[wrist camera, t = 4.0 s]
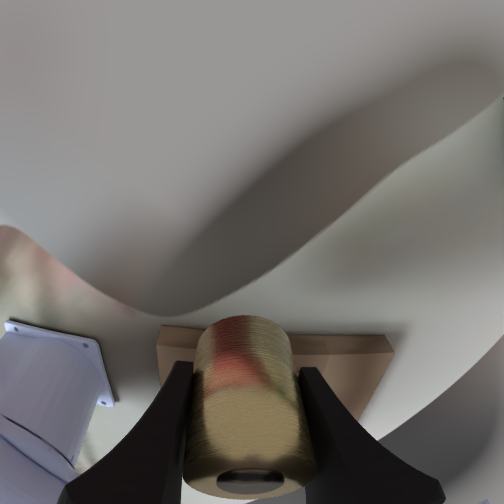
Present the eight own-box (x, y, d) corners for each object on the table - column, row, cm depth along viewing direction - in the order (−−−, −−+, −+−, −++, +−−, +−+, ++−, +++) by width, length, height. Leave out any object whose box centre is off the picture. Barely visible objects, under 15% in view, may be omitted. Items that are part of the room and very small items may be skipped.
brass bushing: (196, 379, 13) (186, 499, 8) (197, 311, 12) (177, 452, 6) (282, 384, 14) (300, 500, 8) (299, 318, 12) (335, 452, 7)
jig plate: (174, 443, 26) (172, 461, 24) (161, 325, 20) (154, 348, 18) (327, 445, 28) (331, 462, 25) (384, 335, 21) (396, 355, 19)
